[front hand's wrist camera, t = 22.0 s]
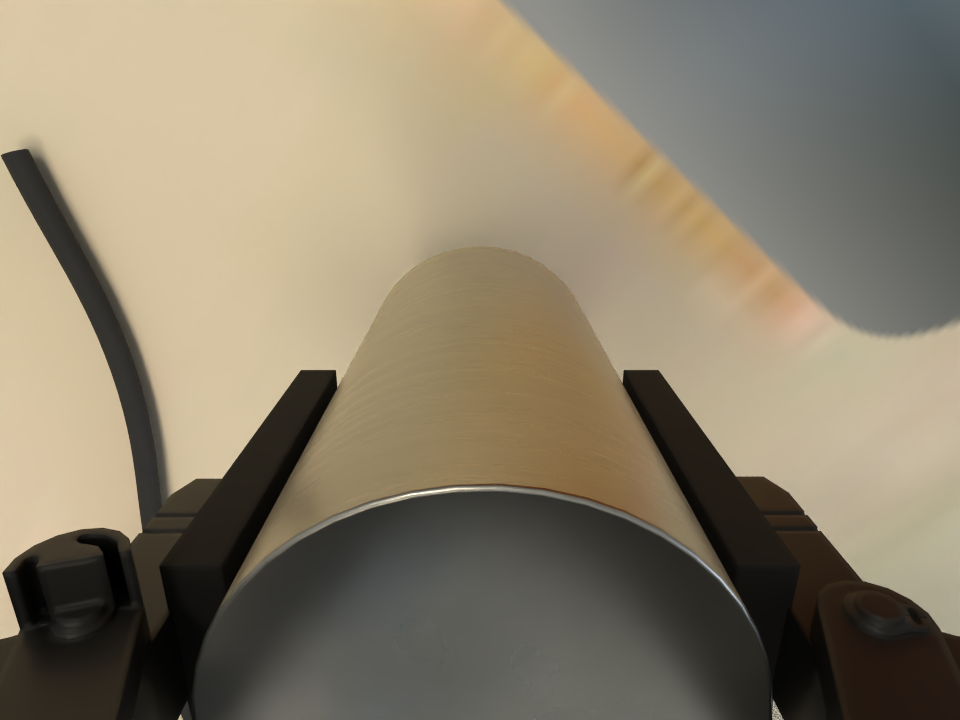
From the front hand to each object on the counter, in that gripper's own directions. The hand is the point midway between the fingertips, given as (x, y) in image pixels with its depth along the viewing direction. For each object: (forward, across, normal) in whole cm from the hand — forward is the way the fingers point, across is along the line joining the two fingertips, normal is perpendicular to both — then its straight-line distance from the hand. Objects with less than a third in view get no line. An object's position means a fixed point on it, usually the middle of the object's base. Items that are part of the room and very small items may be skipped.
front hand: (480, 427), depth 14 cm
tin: (+4, 0, 0) cm, 4 cm away
